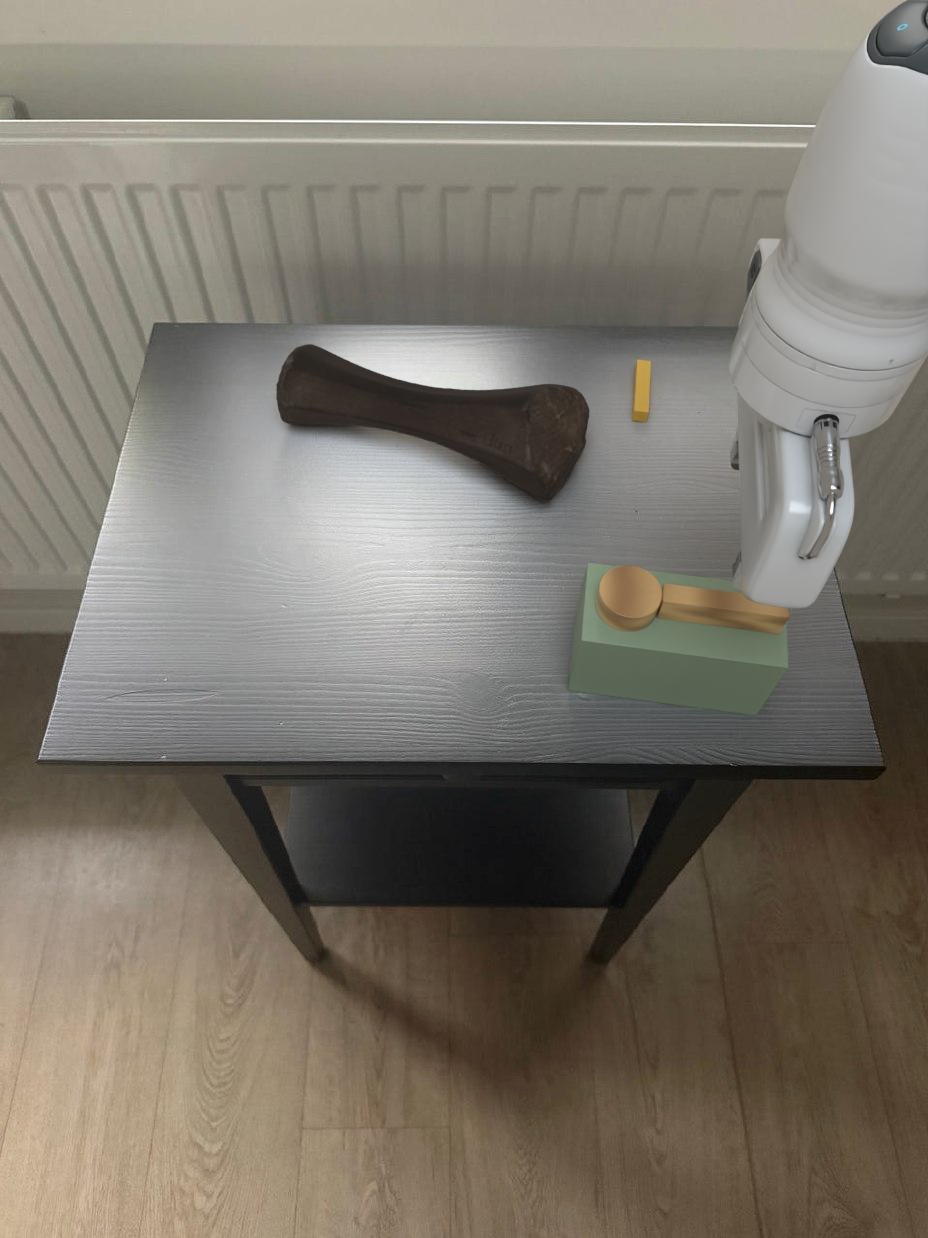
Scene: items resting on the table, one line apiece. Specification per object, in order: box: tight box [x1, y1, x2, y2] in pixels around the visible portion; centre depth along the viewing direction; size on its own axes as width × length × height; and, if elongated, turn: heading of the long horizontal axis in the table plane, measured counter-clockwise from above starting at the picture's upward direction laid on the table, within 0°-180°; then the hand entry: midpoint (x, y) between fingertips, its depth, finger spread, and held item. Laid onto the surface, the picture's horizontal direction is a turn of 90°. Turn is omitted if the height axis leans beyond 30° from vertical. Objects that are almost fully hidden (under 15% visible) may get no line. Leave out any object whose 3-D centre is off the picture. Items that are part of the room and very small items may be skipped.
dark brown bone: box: [275, 343, 590, 502], centre depth 85 cm, size 11×10×28 cm
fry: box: [631, 359, 652, 423], centre depth 92 cm, size 1×7×1 cm, turn 172°
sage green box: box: [567, 562, 790, 716], centre depth 73 cm, size 15×7×8 cm, turn 82°
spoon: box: [595, 564, 790, 634], centre depth 69 cm, size 14×5×2 cm, turn 82°
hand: (743, 519), depth 59 cm, fingers open, 8 cm apart
